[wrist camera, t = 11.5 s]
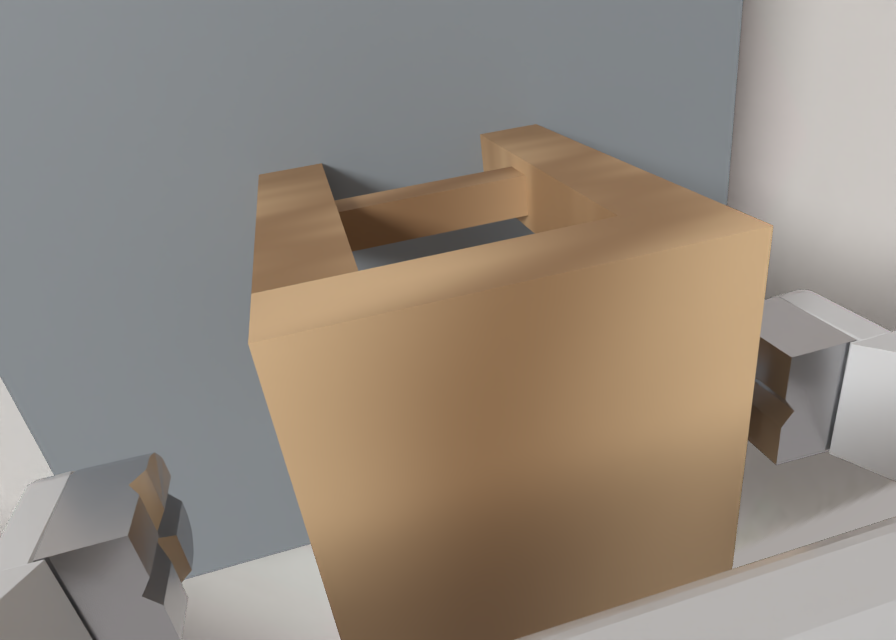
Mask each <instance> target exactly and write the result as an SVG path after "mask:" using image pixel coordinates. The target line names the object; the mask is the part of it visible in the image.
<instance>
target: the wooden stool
mask: <svg viewBox="0 0 896 640" xmlns="http://www.w3.org/2000/svg"><path fill="white" fill-rule="evenodd" d="M480 140H481V150H482V160H483V170H484V172H480V173H475V174H470V175H464V176H459V177H454V178H449V179H444V180H438V181H433V182H428V183H423V184H418V185H413V186H407V187H402V188H397V189H392V190H387V191H381V192H376V193H371V194H366V195H361V196H355V197H350V198H345V199H340V200H335V201H334V198H333V195H332V192H331V189H330V186H329V183H328V180H327V177H326V174H325V171H324V168H323V166H322V163H320V164H315V165H309V166H304V167H298V168H293V169H287V170H282V171H276V172H271V173H265V174H260V175H259V180H258V195H257V211H256V227H255V243H254V258H253V274H252V290H251V305H250V321H249V337H248V345H249V348H250V352H251V355H252V358H253V361H254V364H255V367H256V371H257V374H258V377H259V380H260V383H261V387H262V390H263V393H264V396H265V399H266V403H267V406H268V409H269V412H270V415H271V418H272V422H273V425H274V428H275V431H276V434H277V438H278V441H279V444H280V447H281V450H282V454H283V457H284V460H285V463H286V466H287V469H288V473H289V476H290V479H291V482H292V485H293V489H294V492H295V495H296V498H297V501H298V505H299V508H300V511H301V514H302V517H303V520H304V524H305V527H306V530H307V533H308V536H309V540H310V543H311V546H312V549H313V552H314V556H315V559H316V562H317V565H318V568H319V571H320V575H321V578H322V581H323V584H324V587H325V591H326V594H327V597H328V600H329V603H330V607H331V610H332V613H333V616H334V619H335V622H336V626H337V629H338V632H339V635H340V638H341V640H515V639H518V638H521V637H524V636H527V635H530V634H533V633H536V632H539V631H542V630H546V629H549V628H552V627H555V626H558V625H561V624H564V623H567V622H570V621H573V620H576V619H579V618H583V617H586V616H589V615H592V614H595V613H598V612H601V611H604V610H607V609H610V608H613V607H617V606H620V605H623V604H626V603H629V602H632V601H635V600H638V599H641V598H644V597H647V596H650V595H654V594H657V593H660V592H663V591H666V590H669V589H672V588H675V587H678V586H681V585H684V584H687V583H691V582H694V581H697V580H700V579H703V578H706V577H709V576H712V575H715V574H718V573H722V572H725V571H728V570H731V569H732V566H733V556H734V549H735V541H736V533H737V524H738V516H739V508H740V499H741V491H742V483H743V474H744V466H745V458H746V449H747V441H748V433H749V424H750V416H751V408H752V399H753V391H754V383H755V374H756V366H757V358H758V349H759V341H760V333H761V324H762V316H763V308H764V299H765V291H766V283H767V274H768V266H769V258H770V249H771V241H772V233H773V225H771V224H768V223H766V222H764V221H761V220H759V219H757V218H754V217H752V216H750V215H747V214H745V213H743V212H740V211H738V210H736V209H733V208H731V207H729V206H726V205H724V204H722V203H719V202H717V201H715V200H712V199H710V198H708V197H705V196H703V195H701V194H698V193H696V192H694V191H691V190H689V189H687V188H684V187H682V186H680V185H677V184H675V183H673V182H670V181H668V180H665V179H663V178H661V177H658V176H656V175H654V174H651V173H649V172H647V171H644V170H642V169H640V168H637V167H635V166H633V165H630V164H628V163H626V162H623V161H621V160H619V159H616V158H614V157H612V156H609V155H607V154H605V153H602V152H600V151H598V150H595V149H593V148H591V147H588V146H586V145H584V144H581V143H579V142H577V141H574V140H572V139H570V138H567V137H565V136H563V135H560V134H558V133H556V132H553V131H551V130H549V129H546V128H544V127H542V126H539V125H537V124H534V125H528V126H523V127H517V128H512V129H506V130H501V131H495V132H490V133H485V134H480ZM512 218H517V219H518V220H519V221H520V222H522V223H523V224H524V225H525V226H526V227H527V228H529V229H530V230H531V231H532V232H533V233H535V234H531V235H526V236H521V237H516V238H512V239H507V240H502V241H498V242H493V243H488V244H483V245H479V246H474V247H469V248H465V249H460V250H455V251H450V252H446V253H441V254H436V255H432V256H427V257H422V258H417V259H413V260H408V261H403V262H399V263H394V264H389V265H385V266H380V267H375V268H370V269H366V270H361V271H358V268H357V265H356V262H355V259H354V256H353V253H352V252H353V251H357V250H362V249H367V248H372V247H377V246H382V245H386V244H391V243H396V242H401V241H406V240H411V239H415V238H420V237H425V236H430V235H435V234H440V233H444V232H449V231H454V230H459V229H464V228H469V227H473V226H478V225H483V224H488V223H493V222H498V221H502V220H507V219H512Z"/></svg>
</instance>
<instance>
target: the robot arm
mask: <svg viewBox="0 0 896 640" xmlns="http://www.w3.org/2000/svg"><path fill="white" fill-rule="evenodd" d="M748 440H749V441H750V442H751V443H752V444H753V445H754V446H755V447H757V448H758V449H759V450H760V451H761V452H762V453H763V454H764V455H766V456H767V457H768V458H769V459H770V460H771V461H772V462H773V463H775V464H776V465H778V464H782V463H785V462H789V461H793V460H797V459H801V458H804V457H808V456H812V455H816V454H819V453H823V452H827V451H829V454H831V455H833V456H836V457H838V458H841V459H843V460H845V461H848V462H850V463H852V464H855V465H857V466H860V467H862V468H864V469H867V470H869V471H872V472H874V473H876V474H879V475H881V476H884V477H886V478H888V479H891V480H893V481H896V331H892V332H891V331H889V330H887V329H885V328H883V327H881V326H879V325H877V324H875V323H873V322H871V321H869V320H867V319H865V318H864V317H862V316H860V315H858V314H856V313H854V312H852V311H850V310H848V309H846V308H844V307H842V306H840V305H838V304H836V303H834V302H832V301H830V300H828V299H826V298H825V297H823V296H821V295H819V294H817V293H815V292H813V291H811V290H801V289H799V290H795V291H792V292H788V293H785V294H781V295H778V296H774V297H771V298H769V299H765V300H764V308H763V316H762V324H761V333H760V341H759V349H758V358H757V366H756V374H755V383H754V391H753V399H752V408H751V416H750V424H749V433H748ZM170 480H171V475H170V473H169V471H168V468H167V466H166V464H165V462H164V460H163V458H162V457H161V456H160V455H158V454H157V453H155V452H154V453H149V454H145V455H141V456H136V457H132V458H127V459H123V460H119V461H114V462H110V463H106V464H101V465H97V466H93V467H88V468H84V469H80V470H77V471H70V472H66V473H62V474H58V475H55V476H51V477H47V478H43V479H39V480H36V481H34V482H32V483H31V484H29V485H27V487H26V489H25V491H24V493H23V494H22V496H21V498H20V500H19V502H18V504H17V506H16V508H15V510H14V512H13V514H12V516H11V518H10V520H9V522H8V523H7V525H6V527H5V529H4V531H3V533H2V535H1V537H0V640H182V636H183V629H184V622H185V615H186V609H187V602H188V596H187V594H186V592H185V590H184V588H183V586H182V582H183V580H184V579H185V578H186V577H187V575H188V574H189V573H190V572H191V571H192V565H193V556H194V547H193V535H192V529H191V525H190V521H189V517H188V514H187V512H186V509H185V507H184V505H183V502H182V501H181V500H179V499H177V498H175V497H173V496H172V495H170V494H168V490H169V485H170ZM515 640H896V517H893V518H890V519H886V520H883V521H880V522H877V523H874V524H871V525H868V526H865V527H862V528H859V529H855V530H853V531H849V532H846V533H843V534H840V535H837V536H834V537H831V538H827V539H824V540H821V541H818V542H815V543H812V544H809V545H806V546H802V547H799V548H796V549H793V550H790V551H787V552H784V553H781V554H778V555H774V556H772V557H768V558H765V559H762V560H759V561H756V562H753V563H750V564H746V565H744V566H740V567H737V568H734V569H731V570H728V571H725V572H722V573H718V574H715V575H712V576H709V577H706V578H703V579H700V580H697V581H694V582H691V583H687V584H684V585H681V586H678V587H675V588H672V589H669V590H666V591H663V592H660V593H657V594H654V595H650V596H647V597H644V598H641V599H638V600H635V601H632V602H629V603H626V604H623V605H620V606H617V607H613V608H610V609H607V610H604V611H601V612H598V613H595V614H592V615H589V616H586V617H583V618H579V619H576V620H573V621H570V622H567V623H564V624H561V625H558V626H555V627H552V628H549V629H546V630H542V631H539V632H536V633H533V634H530V635H527V636H524V637H521V638H518V639H515Z"/></svg>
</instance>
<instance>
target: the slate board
mask: <svg viewBox="0 0 896 640" xmlns="http://www.w3.org/2000/svg"><path fill="white" fill-rule="evenodd" d="M742 7H743V0H0V377H1V379H2V380H3V382H4V384H5V386H6V388H7V390H8V391H9V393H10V395H11V397H12V399H13V401H14V402H15V404H16V406H17V408H18V410H19V412H20V413H21V415H22V417H23V419H24V421H25V423H26V424H27V426H28V428H29V430H30V432H31V434H32V435H33V437H34V439H35V441H36V443H37V445H38V446H39V448H40V450H41V452H42V454H43V456H44V457H45V459H46V461H47V463H48V465H49V467H50V468H51V470H52V472H53V474H54V476H55V475H58V474H62V473H66V472H70V471H77V470H80V469H84V468H88V467H93V466H97V465H101V464H106V463H110V462H114V461H119V460H123V459H127V458H132V457H136V456H141V455H145V454H149V453H154V452H155V453H157V454H158V455H160V456H161V457H162V458H163V460H164V462H165V464H166V466H167V468H168V471H169V473H170V475H171V480H170V485H169V490H168V494H170V495H172V496H173V497H175V498H177V499H179V500H181V501H182V502H183V505H184V507H185V509H186V512H187V514H188V517H189V521H190V525H191V529H192V535H193V547H194V556H193V565H192V571H191V572H190V573H189V574H188V575H187V577H186V578H185V579H188V578H192V577H195V576H199V575H202V574H206V573H209V572H213V571H216V570H220V569H224V568H227V567H231V566H234V565H238V564H241V563H245V562H248V561H252V560H255V559H259V558H262V557H266V556H269V555H273V554H276V553H280V552H284V551H287V550H291V549H294V548H298V547H301V546H305V545H308V544H311V543H310V540H309V536H308V533H307V530H306V527H305V524H304V520H303V517H302V514H301V511H300V508H299V505H298V501H297V498H296V495H295V492H294V489H293V485H292V482H291V479H290V476H289V473H288V469H287V466H286V463H285V460H284V457H283V454H282V450H281V447H280V444H279V441H278V438H277V434H276V431H275V428H274V425H273V422H272V418H271V415H270V412H269V409H268V406H267V403H266V399H265V396H264V393H263V390H262V387H261V383H260V380H259V377H258V374H257V371H256V367H255V364H254V361H253V358H252V355H251V352H250V348H249V345H248V337H249V321H250V305H251V290H252V274H253V258H254V243H255V227H256V211H257V195H258V180H259V175H260V174H265V173H271V172H276V171H282V170H287V169H293V168H298V167H304V166H309V165H315V164H320V163H322V166H323V168H324V171H325V174H326V177H327V180H328V183H329V186H330V189H331V192H332V195H333V198H334V201H335V200H340V199H345V198H350V197H355V196H361V195H366V194H371V193H376V192H381V191H387V190H392V189H397V188H402V187H407V186H413V185H418V184H423V183H428V182H433V181H438V180H444V179H449V178H454V177H459V176H464V175H470V174H475V173H480V172H484V170H483V160H482V150H481V140H480V134H485V133H490V132H495V131H501V130H506V129H512V128H517V127H523V126H528V125H534V124H537V125H539V126H542V127H544V128H546V129H549V130H551V131H553V132H556V133H558V134H560V135H563V136H565V137H567V138H570V139H572V140H574V141H577V142H579V143H581V144H584V145H586V146H588V147H591V148H593V149H595V150H598V151H600V152H602V153H605V154H607V155H609V156H612V157H614V158H616V159H619V160H621V161H623V162H626V163H628V164H630V165H633V166H635V167H637V168H640V169H642V170H644V171H647V172H649V173H651V174H654V175H656V176H658V177H661V178H663V179H665V180H668V181H670V182H673V183H675V184H677V185H680V186H682V187H684V188H687V189H689V190H691V191H694V192H696V193H698V194H701V195H703V196H705V197H708V198H710V199H712V200H715V201H717V202H719V203H722V204H724V205H726V206H727V198H728V185H729V172H730V160H731V147H732V134H733V121H734V109H735V96H736V83H737V71H738V58H739V45H740V32H741V20H742ZM531 234H535V233H533V232H532V231H531V230H530V229H529V228H527V227H526V226H525V225H524V224H523V223H522V222H520V221H519V220H518V219H517V218H512V219H507V220H502V221H498V222H493V223H488V224H483V225H478V226H473V227H469V228H464V229H459V230H454V231H449V232H444V233H440V234H435V235H430V236H425V237H420V238H415V239H411V240H406V241H401V242H396V243H391V244H386V245H382V246H377V247H372V248H367V249H362V250H357V251H353V252H352V253H353V256H354V259H355V262H356V265H357V268H358V271H361V270H366V269H370V268H375V267H380V266H385V265H389V264H394V263H399V262H403V261H408V260H413V259H417V258H422V257H427V256H432V255H436V254H441V253H446V252H450V251H455V250H460V249H465V248H469V247H474V246H479V245H483V244H488V243H493V242H498V241H502V240H507V239H512V238H516V237H521V236H526V235H531ZM185 579H184V580H185Z"/></svg>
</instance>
